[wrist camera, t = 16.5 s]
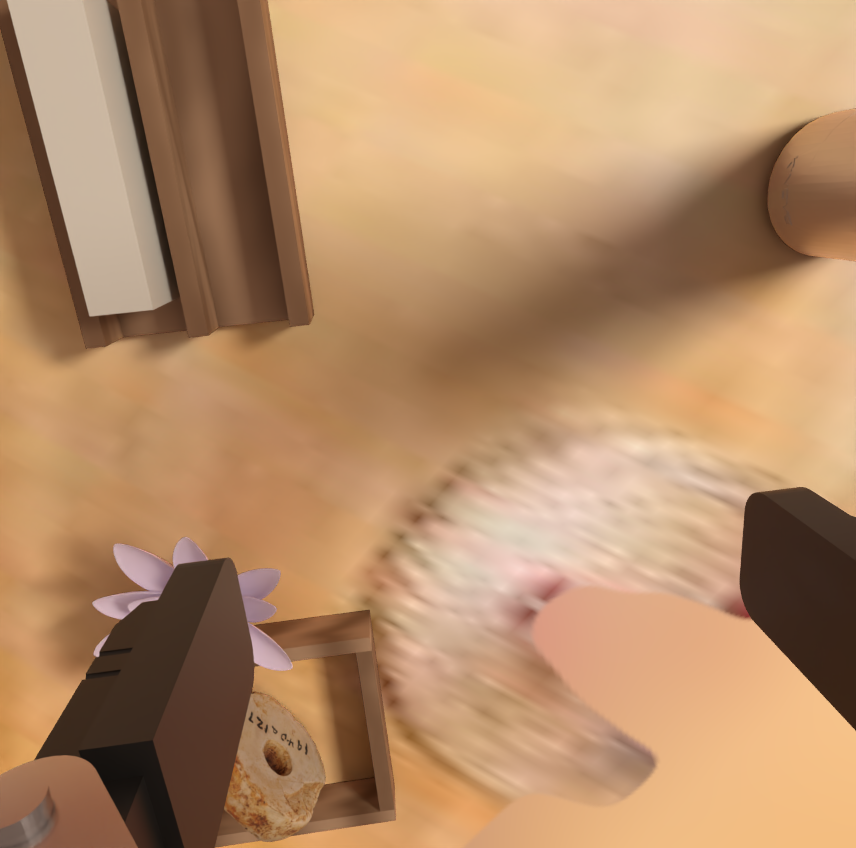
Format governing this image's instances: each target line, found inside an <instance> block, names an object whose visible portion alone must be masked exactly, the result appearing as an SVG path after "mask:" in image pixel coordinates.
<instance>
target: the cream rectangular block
mask: <svg viewBox="0 0 856 848" xmlns="http://www.w3.org/2000/svg"><path fill="white" fill-rule="evenodd" d="M7 3H8V7H9V10H10V14H11V18H12V22H13V26H14V29H15V33H16V37H17V41H18V45H19V49H20V52H21V56H22V60H23V64H24V68H25V72H26V75H27V79H28V83H29V87H30V91H31V95H32V98H33V102H34V106H35V110H36V114H37V118H38V121H39V125H40V129H41V133H42V137H43V140H44V144H45V148H46V152H47V156H48V160H49V163H50V167H51V171H52V175H53V179H54V183H55V186H56V190H57V194H58V198H59V202H60V206H61V209H62V213H63V217H64V221H65V225H66V228H67V232H68V236H69V240H70V244H71V248H72V251H73V255H74V259H75V263H76V267H77V271H78V274H79V278H80V282H81V286H82V290H83V294H84V297H85V301H86V305H87V309H88V313H89V316H99V315H109V314H119V313H128V312H138V311H147V310H154V309H156V308H158V307H160V306H162V305H164V304H166V303H168V302H171V301H173V300H175V299H177V298H179V297H180V294H179V289H178V285H177V280H176V275H175V271H174V266H173V261H172V256H171V252H170V247H169V242H168V238H167V233H166V228H165V224H164V219H163V214H162V210H161V205H160V200H159V196H158V191H157V186H156V182H155V177H154V172H153V168H152V163H151V158H150V154H149V149H148V144H147V140H146V135H145V130H144V126H143V121H142V116H141V112H140V107H139V102H138V98H137V93H136V88H135V84H134V79H133V74H132V69H131V65H130V60H129V55H128V51H127V46H126V41H125V37H124V32H123V27H122V23H121V18H120V13H119V10H118V9H117V8H115V7H114V6H113V5H112V4H110V3H109V2H108V1H107V0H7Z"/></svg>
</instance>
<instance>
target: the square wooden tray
mask: <svg viewBox="0 0 856 848" xmlns="http://www.w3.org/2000/svg"><path fill="white" fill-rule="evenodd" d="M254 626H255V627H257V628H258V629H260V630H261V631H263V632H264V633H265V634H267V635H268V636H269V637H270V638H272V639H273V640H274V641H275V642H276V643H277V644H278V645H279V646H280V647H281V648H282V649H283V651H284V652H285V653H286V654H287V656H288V657H289V659H290V661H291V662H292V661H299V660H307V659H314V658H321V657H329V656H336V655H343V654H351V653H356V657H357V664H358V670H359V677H360V683H361V690H362V696H363V703H364V709H365V716H366V722H367V729H368V735H369V742H370V748H371V755H372V761H373V768H374V774H375V778H368V779H361V780H355V781H348V782H341V783H334V784H327V785H324V786H323V787H322V789H321V790H320V793H319V796H318V798H317V799H318V800H317V802H316V804H315V807H314V808H313V814H312V817H311V819H310V821H309V822H308V823H307V824H306V826H304V827H303V828H302V829H301V830H299V831H298V832H296V833H294V834H293V835H291V836H295V835H301V834H308V833H315V832H321V831H328V830H335V829H341V828H348V827H355V826H361V825H368V824H374V823H381V822H388V821H394V820H396V808H395V787H394V779H393V772H392V765H391V758H390V751H389V744H388V737H387V730H386V723H385V715H384V708H383V701H382V694H381V687H380V680H379V673H378V666H377V659H376V652H375V645H374V638H373V631H372V624H371V617H370V610H365V611H358V612H350V613H343V614H335V615H328V616H320V617H312V618H305V619H297V620H290V621H282V622H275V623H267V624H259V625H254ZM255 666H260V665H258V664H256V663H254V667H255ZM255 841H261V840H259V839H257V838H256V837H255V836H254V835H253V834H251V833H250V832H247V831H246V830H245V829H244V828H243V827H242V825H240V824H239V823H238V822H237V821H236V820H235V819H234V818H233V817H232V816H231V815H230V814H228V813H227V812H226V811H225V810H223V815H222V819H221V823H220V827H219V831H218V836H217V840H216V844H215V847H222V846H228V845H235V844H242V843H248V842H255Z"/></svg>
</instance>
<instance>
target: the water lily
mask: <svg viewBox="0 0 856 848" xmlns="http://www.w3.org/2000/svg"><path fill="white" fill-rule="evenodd" d="M113 552H114V557H115V559H116V562H117V564H118V565H119V567H120V568H121V570H122V571H123V572H124V573H125V574H126V575H127V576H128V577H129V578H130V579H131V580H132V581H134V582H135V583H136V584H138V585H139V586H141V587H143V588H144V589H146V590H148V591H136V592H126V593H120V594H115V595H110V596H106V597H102V598H100V599H97V600H95V601H93V602H92V604H93V606H94V607H95V608H96V609H97V610H98V611H99V612H101V613H103V614H105V615H107V616H109V617H112V618H116V619H123V618H124V617H126V616H127V615H128V614H129V613H130V612H131V611H133V610H134V609H135V608H136V607H137V606H138V605H140V604H141V603H142V602H147V601H155V600H158V599H159V597H160V595H161V593H162V592H163V590H164V588H165V586H166V584H167V582H168V580H169V578H170V576H171V575H172V573H173V571H174V569H175V567H176V566H177V565H178V564H182V563H190V562H198V561H206V560H208V558H207V557H206V555H205V554H204V552H203V551H202V550H201V549H200V548H199V547H198V545H197V544H196V543H195V542H193V541H192V540H191V539H190V538H188V537H183V538H181V539H180V540H179V541H178V543H177V545H176V546H175V549H174V552H173V565H174V566H173V565H171V564H170V563H168V562H167V561H165V560H163V559H162V558H160V557H158V556H156V555H154V554H152V553H150V552H147V551H145V550H142V549H139V548H136V547H133V546H130V545H125V544H114V547H113ZM280 575H281V573H280V570H278V569H271V568H264V569H255V570H251V571H247V572H244V573H241V574H239V575H237V576H238V580H239V585H240V590H241V594H242V599H243V604H244V608H245V613H246V618H247V622H261V621H264V620H266V619H268V618H270V617H271V616H273V615H274V614H275V612H276V610H277V608H276V607H275V606H274V605H272V604H270V603H268V602H266V601H263V600H261V599H263V598H265V597H266V596H267V595H269V594H270V593H271V592H272V591H273V590H274V588H275V587H276V586H277V584H278V582H279V579H280ZM248 627H249V632H250V636H251V641H252V646H253V655H254V663H256V664H258V665H260V666H262V667H265V668H268V669H272V670H278V671H285V670H290V669H292V663H291V661H290V659H289V657H288V656H287V654H286V653H285V652H284V651H283V649H282V648H281V647H280V646H279V645H278V644H277V643H276V642H275V641H274V640H273V639H272V638H270V637H269V636H268V635H267V634H265V633H264V632H263V631H261V630H260V629H258V628H257V627H255V626H254V625H252V624H250V623H248ZM109 635H110V634H109ZM109 635H107V636H106V637H105V638H104V639H103V640H101V642H100V643H99V644H98V645H97V646H96V648H95V650H94V656H96V657H99V651H100V650H101V648H102V646H103V645H104V643H105V641H106V640H107V638H108V636H109Z"/></svg>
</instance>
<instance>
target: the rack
mask: <svg viewBox="0 0 856 848" xmlns="http://www.w3.org/2000/svg"><path fill="white" fill-rule="evenodd" d="M107 1H108V2H109V3H110V4H112V5H113V6H114V7H115V8H117V9H118V10H119V13H120V18H121V23H122V27H123V32H124V37H125V41H126V46H127V51H128V55H129V60H130V65H131V69H132V74H133V79H134V84H135V88H136V93H137V98H138V102H139V107H140V112H141V116H142V121H143V126H144V130H145V135H146V140H147V144H148V149H149V154H150V158H151V163H152V168H153V172H154V177H155V182H156V186H157V191H158V196H159V200H160V205H161V210H162V214H163V219H164V224H165V228H166V233H167V238H168V242H169V247H170V252H171V256H172V261H173V266H174V271H175V275H176V280H177V285H178V289H179V294H180V297H179V298H177V299H175V300H173V301H171V302H168V303H166V304H164V305H162V306H160V307H158V308H156V309H154V310H147V311H138V312H128V313H119V314H109V315H99V316H89V313H88V309H87V305H86V301H85V297H84V294H83V290H82V286H81V282H80V278H79V274H78V271H77V267H76V263H75V259H74V255H73V251H72V248H71V244H70V240H69V236H68V232H67V228H66V225H65V221H64V217H63V213H62V209H61V206H60V202H59V198H58V194H57V190H56V186H55V183H54V179H53V175H52V171H51V167H50V163H49V160H48V156H47V152H46V148H45V144H44V140H43V137H42V133H41V129H40V125H39V121H38V118H37V114H36V110H35V106H34V102H33V98H32V95H31V91H30V87H29V83H28V79H27V75H26V72H25V68H24V64H23V60H22V56H21V52H20V49H19V45H18V41H17V37H16V33H15V29H14V26H13V22H12V18H11V14H10V10H9V7H8V3H7V0H0V29H1V33H2V37H3V40H4V44H5V48H6V51H7V55H8V59H9V63H10V66H11V70H12V74H13V78H14V81H15V85H16V89H17V93H18V96H19V100H20V104H21V108H22V111H23V115H24V119H25V123H26V126H27V130H28V134H29V137H30V141H31V145H32V149H33V152H34V156H35V160H36V164H37V167H38V171H39V175H40V179H41V182H42V186H43V190H44V194H45V197H46V201H47V205H48V208H49V212H50V216H51V220H52V223H53V227H54V231H55V235H56V238H57V242H58V246H59V250H60V253H61V257H62V261H63V265H64V268H65V272H66V276H67V280H68V283H69V287H70V291H71V294H72V298H73V302H74V306H75V309H76V313H77V317H78V321H79V324H80V328H81V332H82V336H83V339H84V343H85V347H86V349H87V348H96V347H105V346H108V345H110V344H111V343H113V342H115V341H117V340H119V339H121V338H123V337H129V336H138V335H148V334H157V333H167V332H176V331H186V330H187V331H188V336H189V338H190V337H199V336H209V335H210V334H211V333H212V332H213V331H215V330H216V329H217V328H218V327H223V326H233V325H242V324H252V323H261V322H270V321H280V320H289V324H290V327H293V326H302V325H309V324H310V322H311V320H312V318H313V316H314V310H313V304H312V297H311V290H310V283H309V277H308V270H307V263H306V256H305V250H304V243H303V236H302V230H301V223H300V216H299V209H298V203H297V196H296V189H295V182H294V176H293V169H292V162H291V156H290V149H289V142H288V135H287V129H286V122H285V115H284V108H283V102H282V95H281V88H280V82H279V75H278V68H277V61H276V55H275V48H274V41H273V35H272V28H271V21H270V14H269V8H268V1H267V0H107Z"/></svg>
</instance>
